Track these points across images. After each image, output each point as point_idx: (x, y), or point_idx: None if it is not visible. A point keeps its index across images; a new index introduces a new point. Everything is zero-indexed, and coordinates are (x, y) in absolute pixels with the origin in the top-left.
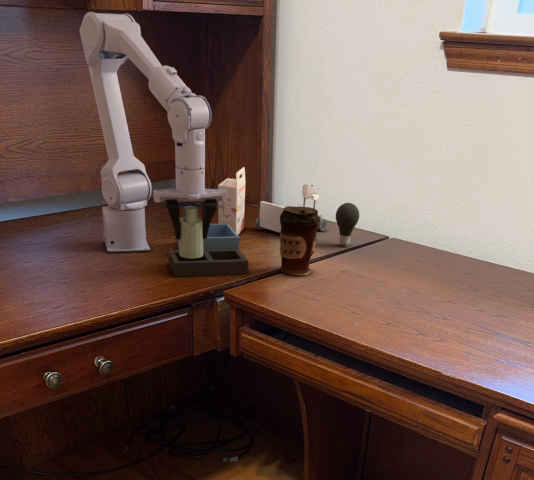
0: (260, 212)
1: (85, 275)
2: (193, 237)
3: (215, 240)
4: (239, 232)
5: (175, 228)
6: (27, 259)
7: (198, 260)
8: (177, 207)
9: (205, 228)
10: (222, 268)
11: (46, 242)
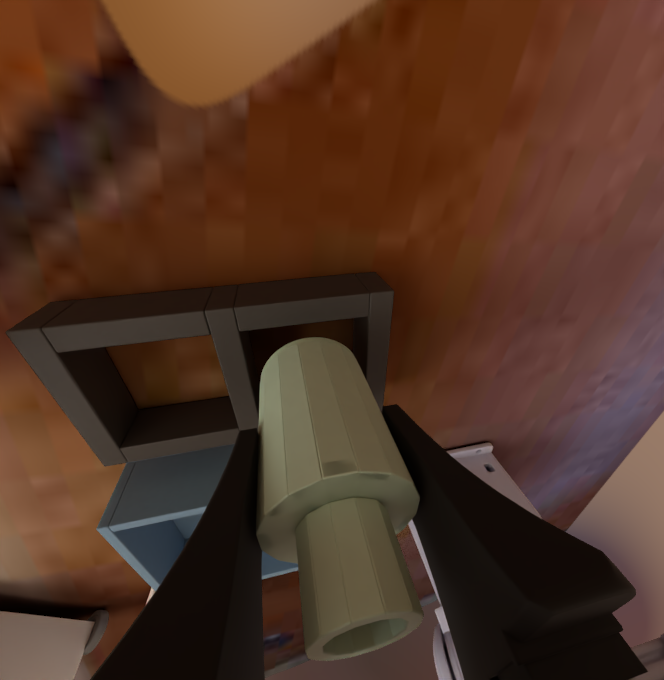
0: (72, 674)
1: (617, 289)
2: (322, 401)
3: (205, 497)
4: (151, 587)
5: (434, 442)
6: (653, 389)
7: None
8: (562, 600)
9: (242, 476)
10: (170, 300)
11: (566, 471)
